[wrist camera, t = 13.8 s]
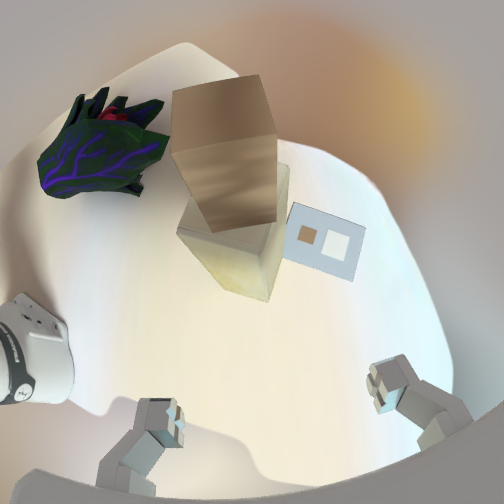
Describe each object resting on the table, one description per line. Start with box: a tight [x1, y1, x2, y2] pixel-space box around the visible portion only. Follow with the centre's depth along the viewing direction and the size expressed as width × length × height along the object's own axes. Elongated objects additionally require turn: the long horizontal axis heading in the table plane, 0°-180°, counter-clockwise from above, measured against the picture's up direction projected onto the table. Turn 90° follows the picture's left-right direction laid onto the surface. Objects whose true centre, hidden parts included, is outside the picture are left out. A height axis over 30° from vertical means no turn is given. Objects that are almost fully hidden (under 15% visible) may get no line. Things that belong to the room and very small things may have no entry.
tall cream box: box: [176, 162, 290, 302], centre depth 30 cm, size 8×7×21 cm
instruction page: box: [282, 203, 366, 282], centre depth 41 cm, size 12×9×1 cm
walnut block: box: [171, 75, 277, 233], centre depth 16 cm, size 4×4×9 cm
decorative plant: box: [37, 87, 170, 199], centre depth 38 cm, size 21×26×30 cm
